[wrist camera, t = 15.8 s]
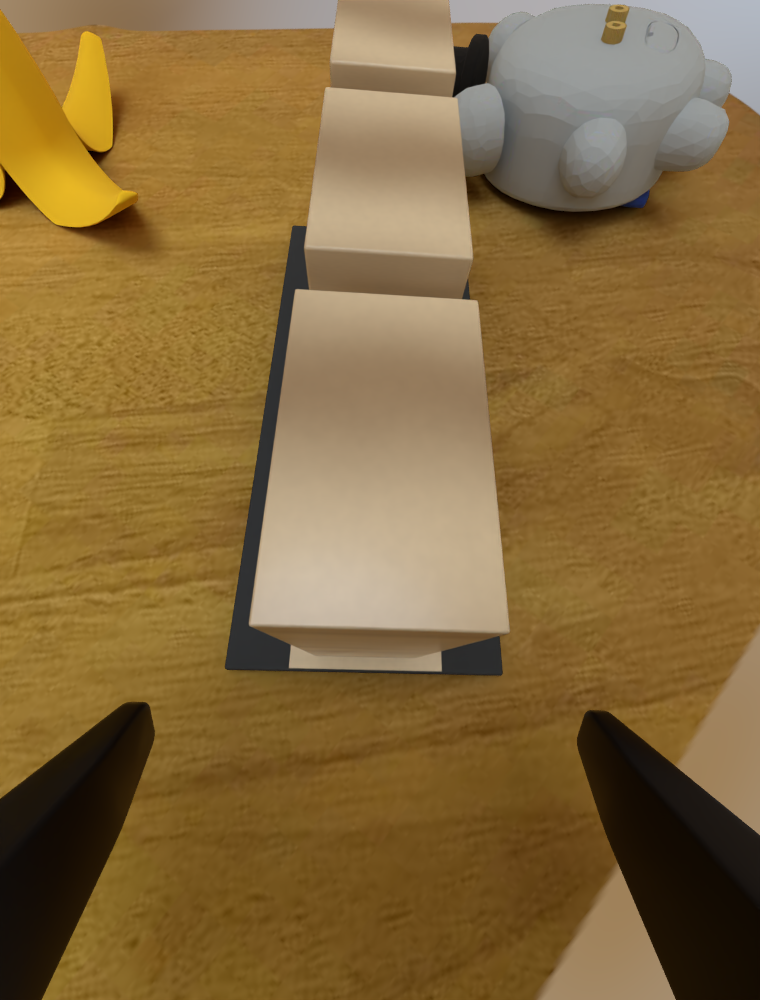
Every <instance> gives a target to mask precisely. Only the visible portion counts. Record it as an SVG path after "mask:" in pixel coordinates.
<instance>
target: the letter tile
mask: <svg viewBox="0 0 760 1000" xmlns="http://www.w3.org/2000/svg"><path fill="white" fill-rule="evenodd" d="M249 626H251V627H253V628H255V629H257V630H259V631H262V632H264V633H266V634H268V635H270V636H273V637H275V638H277V639H279V640H282V641H284V642H286V643H288V644H290V645H293V646H295V647H297V648H299V649H301V650H304V651H306V652H308V653H310V654H312V655H315V656H336V657H377V658H418V657H422V656H425V655H429V654H433V653H437V652H441V651H444V650H448V649H452V648H456V647H459V646H463V645H467V644H471V643H475V642H478V641H482V640H486V639H490V638H493V637H497V636H501V635H505V634H508V633H509V632H510V626H509V616H508V606H507V595H506V585H505V575H504V564H503V554H502V544H501V534H500V523H499V513H498V503H497V492H496V482H495V472H494V461H493V451H492V441H491V430H490V420H489V410H488V399H487V389H486V379H485V368H484V358H483V348H482V337H481V327H480V317H479V306H478V301H477V300H466V299H450V298H433V297H417V296H401V295H385V294H368V293H352V292H336V291H320V290H303V289H296V290H295V294H294V301H293V308H292V316H291V323H290V330H289V337H288V344H287V352H286V359H285V366H284V373H283V380H282V387H281V395H280V402H279V409H278V416H277V423H276V431H275V438H274V445H273V452H272V459H271V466H270V474H269V481H268V488H267V495H266V502H265V509H264V517H263V524H262V531H261V538H260V545H259V553H258V560H257V567H256V574H255V581H254V588H253V596H252V603H251V610H250V617H249Z"/></svg>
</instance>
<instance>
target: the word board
mask: <svg viewBox="0 0 760 1000" xmlns="http://www.w3.org/2000/svg"><path fill="white" fill-rule="evenodd" d="M306 229H307V226H293V227H292V233H291V240H290V246H289V253H288V259H287V266H286V272H285V279H284V285H283V292H282V299H281V305H280V312H279V318H278V325H277V331H276V338H275V344H274V351H273V357H272V364H271V370H270V377H269V383H268V390H267V396H266V403H265V409H264V416H263V422H262V429H261V435H260V442H259V448H258V455H257V461H256V468H255V474H254V481H253V487H252V494H251V500H250V507H249V513H248V520H247V527H246V533H245V540H244V546H243V553H242V559H241V566H240V572H239V579H238V585H237V592H236V598H235V605H234V611H233V618H232V624H231V631H230V637H229V644H228V650H227V657H226V663H225V669H227V670H266V671H312V672H358V673H404V674H451V675H498V676H501V675H502V674H503V671H502V660H501V648H500V637H499V636H497V637H493V638H490V639H486V640H482V641H478V642H475V643H471V644H467V645H463V646H459V647H456V648H452V649H448V650H444V651H441V652H437V653H433V654H429V655H425V656H422V657H418V658H377V657H336V656H315V655H312V654H310V653H308V652H306V651H304V650H301V649H299V648H297V647H295V646H293V645H290V644H288V643H286V642H284V641H282V640H279V639H277V638H275V637H273V636H270V635H268V634H266V633H264V632H262V631H259V630H257V629H255V628H253V627H251V626H249V617H250V610H251V603H252V596H253V588H254V581H255V574H256V567H257V560H258V553H259V545H260V538H261V531H262V524H263V517H264V509H265V502H266V495H267V488H268V481H269V474H270V466H271V459H272V452H273V445H274V438H275V431H276V423H277V416H278V409H279V402H280V395H281V387H282V380H283V373H284V366H285V359H286V352H287V344H288V337H289V330H290V323H291V316H292V308H293V301H294V294H295V290H296V289H303V290H309V285H308V277H307V269H306V260H305V252H304V244H305V236H306ZM462 299H466V300H470V296H469V285H468V279H467V283H466V286H465V290H464V293H463V297H462Z"/></svg>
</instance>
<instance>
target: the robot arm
mask: <svg viewBox="0 0 760 1000" xmlns="http://www.w3.org/2000/svg"><path fill="white" fill-rule="evenodd" d="M154 736H155V730H154V725H153V720H152V715H151V710H150V707H149V705H148V704H147V703H146V702H127V703H124V704H123V705H121V706H120V707H118V708H117V709H116V710H115V711H113V712H112V713H111V714H109V715H108V716H107V717H106V718H104V719H103V720H102V721H100V722H99V723H98V724H96V725H95V726H94V727H93V728H91V729H90V730H89V731H87V732H86V733H85V734H84V735H82V736H81V737H80V738H78V739H77V740H76V741H74V742H73V743H72V744H71V745H69V746H68V747H67V748H65V749H64V750H63V751H61V752H60V753H59V754H58V755H56V756H55V757H54V758H52V759H51V760H50V761H49V762H47V763H46V764H45V765H43V766H42V767H41V768H39V769H38V770H37V771H36V772H34V773H33V774H32V775H30V776H29V777H28V778H26V779H25V780H24V781H23V782H21V783H20V784H19V785H17V786H16V787H15V788H14V789H12V790H11V791H10V792H8V793H7V794H6V795H4V796H3V797H2V798H1V799H0V1000H42V998H43V996H44V994H45V991H46V989H47V987H48V985H49V983H50V981H51V979H52V977H53V974H54V972H55V970H56V968H57V966H58V964H59V962H60V960H61V957H62V955H63V953H64V951H65V949H66V947H67V945H68V943H69V940H70V938H71V936H72V934H73V932H74V930H75V928H76V926H77V923H78V921H79V919H80V917H81V915H82V913H83V911H84V909H85V906H86V904H87V902H88V900H89V898H90V896H91V894H92V892H93V889H94V887H95V885H96V883H97V881H98V879H99V877H100V875H101V872H102V870H103V868H104V866H105V864H106V862H107V860H108V858H109V855H110V853H111V851H112V849H113V847H114V845H115V842H116V840H117V838H118V836H119V834H120V831H121V829H122V826H123V824H124V821H125V819H126V816H127V813H128V811H129V808H130V805H131V802H132V800H133V797H134V794H135V791H136V789H137V786H138V783H139V781H140V778H141V775H142V772H143V770H144V767H145V764H146V761H147V759H148V756H149V753H150V750H151V748H152V745H153V741H154ZM577 746H578V751H579V754H580V757H581V760H582V763H583V766H584V769H585V772H586V776H587V779H588V782H589V785H590V788H591V791H592V794H593V797H594V800H595V803H596V806H597V809H598V812H599V815H600V819H601V821H602V824H603V827H604V830H605V833H606V835H607V838H608V840H609V843H610V845H611V848H612V850H613V852H614V855H615V857H616V860H617V862H618V864H619V867H620V869H621V871H622V874H623V876H624V878H625V881H626V883H627V885H628V888H629V890H630V892H631V895H632V897H633V900H634V902H635V904H636V907H637V909H638V911H639V914H640V916H641V918H642V921H643V923H644V926H645V928H646V930H647V932H648V935H649V937H650V940H651V942H652V944H653V947H654V949H655V951H656V954H657V956H658V958H659V961H660V963H661V965H662V968H663V970H664V973H665V975H666V977H667V980H668V982H669V984H670V987H671V989H672V991H673V994H674V996H675V999H676V1000H760V835H759V834H758V833H756V832H755V831H754V830H753V829H752V828H750V827H749V826H748V825H747V824H745V823H744V822H743V821H742V820H741V819H739V818H738V817H737V816H735V815H734V814H733V813H732V812H731V811H729V810H728V809H727V808H726V807H725V806H723V805H722V804H721V803H720V802H718V801H717V800H716V799H715V798H713V797H712V796H711V795H710V794H709V793H707V792H706V791H705V790H704V789H703V788H701V787H700V786H699V785H698V784H696V783H695V782H694V781H693V780H692V779H690V778H689V777H688V776H687V775H685V774H684V773H683V772H682V771H680V770H679V769H678V768H677V767H676V766H674V765H673V764H672V763H671V762H670V761H668V760H667V759H666V758H665V757H663V756H662V755H661V754H660V753H659V752H657V751H656V750H655V749H654V748H652V747H651V746H650V745H649V744H647V743H646V742H645V741H644V740H643V739H641V738H640V737H639V736H638V735H636V734H635V733H634V732H633V731H632V730H630V729H629V728H628V727H627V726H625V725H624V724H623V723H622V722H621V721H619V720H618V719H617V718H616V717H614V716H613V715H612V714H611V713H609V712H607V711H601V710H589V711H587V712H586V713H585V715H584V718H583V721H582V724H581V727H580V730H579V733H578V737H577Z"/></svg>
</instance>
